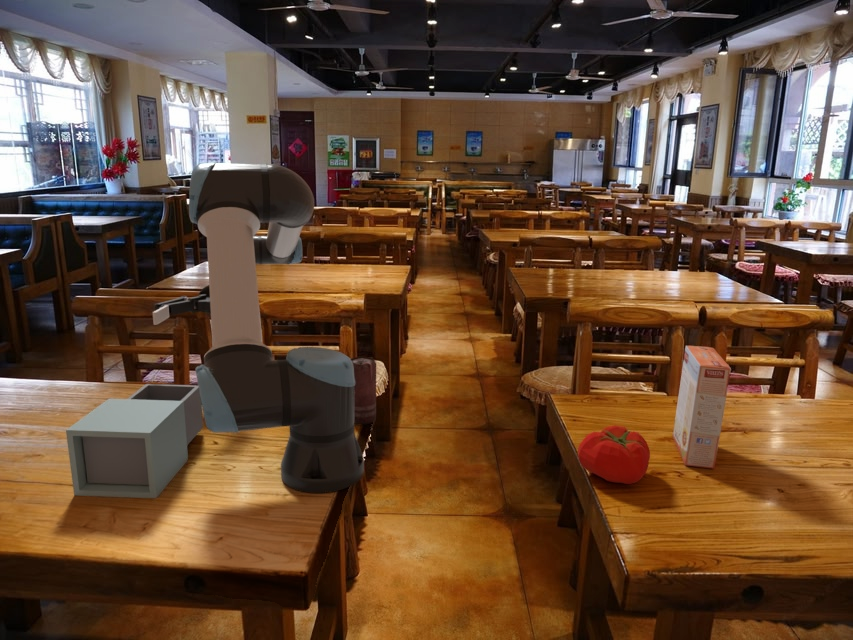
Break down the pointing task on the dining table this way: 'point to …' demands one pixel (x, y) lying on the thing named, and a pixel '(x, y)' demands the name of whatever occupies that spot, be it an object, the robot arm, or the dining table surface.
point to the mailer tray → (138, 439)
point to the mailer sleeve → (132, 420)
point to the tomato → (615, 454)
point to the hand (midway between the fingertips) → (184, 319)
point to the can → (364, 390)
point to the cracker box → (701, 406)
